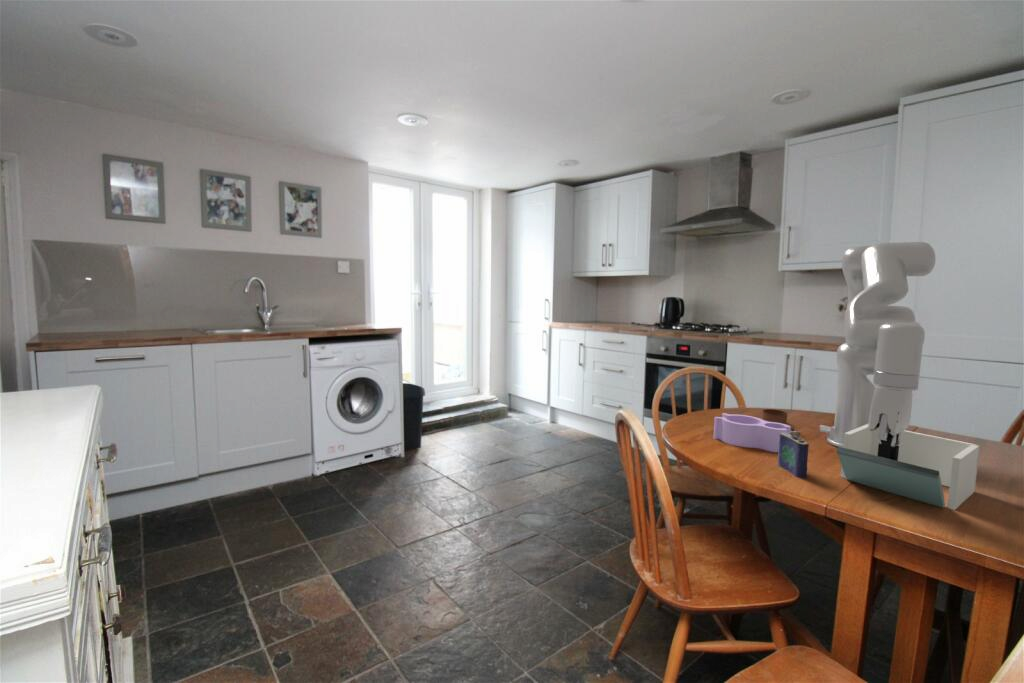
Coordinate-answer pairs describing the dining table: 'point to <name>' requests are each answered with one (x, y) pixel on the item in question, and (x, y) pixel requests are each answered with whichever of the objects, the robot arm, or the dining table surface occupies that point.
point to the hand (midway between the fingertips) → (887, 461)
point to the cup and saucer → (776, 417)
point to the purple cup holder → (749, 431)
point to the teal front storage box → (927, 458)
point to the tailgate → (892, 476)
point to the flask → (793, 454)
